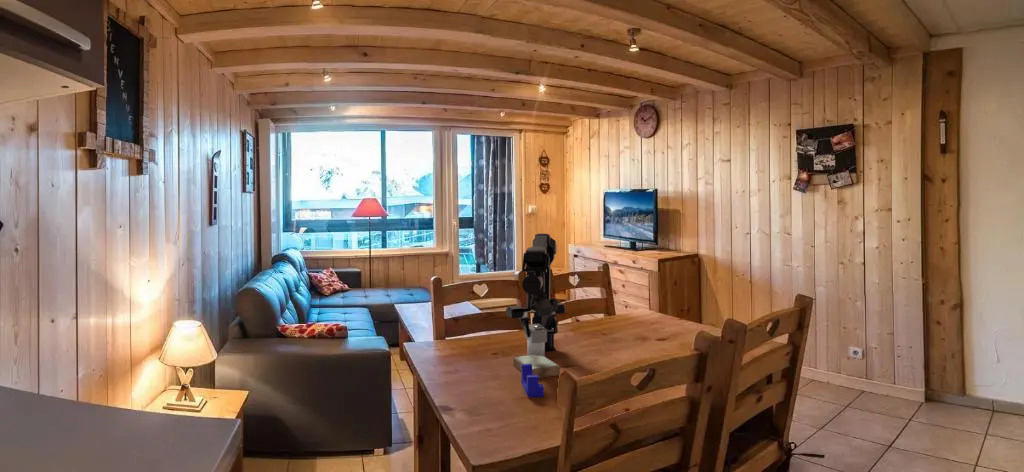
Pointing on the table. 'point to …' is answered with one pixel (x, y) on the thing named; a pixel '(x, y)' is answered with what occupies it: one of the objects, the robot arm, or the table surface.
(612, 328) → the table surface
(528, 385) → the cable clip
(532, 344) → the light grey rounded cylinder
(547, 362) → the stand
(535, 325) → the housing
